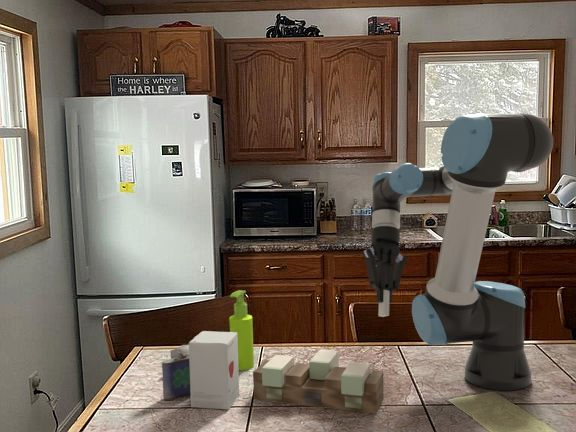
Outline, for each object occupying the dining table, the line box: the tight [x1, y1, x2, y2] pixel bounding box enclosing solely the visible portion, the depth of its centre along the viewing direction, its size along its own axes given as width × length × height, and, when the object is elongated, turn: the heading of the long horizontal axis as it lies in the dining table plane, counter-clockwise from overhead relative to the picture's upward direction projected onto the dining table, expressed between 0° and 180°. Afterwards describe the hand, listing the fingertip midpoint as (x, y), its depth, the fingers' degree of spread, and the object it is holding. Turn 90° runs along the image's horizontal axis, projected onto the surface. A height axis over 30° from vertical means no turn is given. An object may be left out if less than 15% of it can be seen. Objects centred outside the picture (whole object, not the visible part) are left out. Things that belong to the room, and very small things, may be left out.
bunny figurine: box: [170, 344, 189, 359], centre depth 169 cm, size 10×5×15 cm
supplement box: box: [188, 330, 240, 410], centre depth 144 cm, size 9×9×15 cm
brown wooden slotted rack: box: [252, 359, 384, 415], centre depth 144 cm, size 28×8×6 cm, turn 71°
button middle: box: [308, 348, 340, 380], centre depth 149 cm, size 4×9×4 cm, turn 161°
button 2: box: [341, 361, 372, 396], centre depth 140 cm, size 4×9×4 cm, turn 161°
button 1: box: [262, 354, 295, 387], centre depth 145 cm, size 4×9×4 cm, turn 161°
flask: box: [161, 349, 191, 402], centre depth 148 cm, size 9×3×11 cm, turn 121°
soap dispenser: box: [228, 289, 255, 371], centre depth 165 cm, size 6×7×20 cm
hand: (383, 315), depth 165 cm, fingers closed
